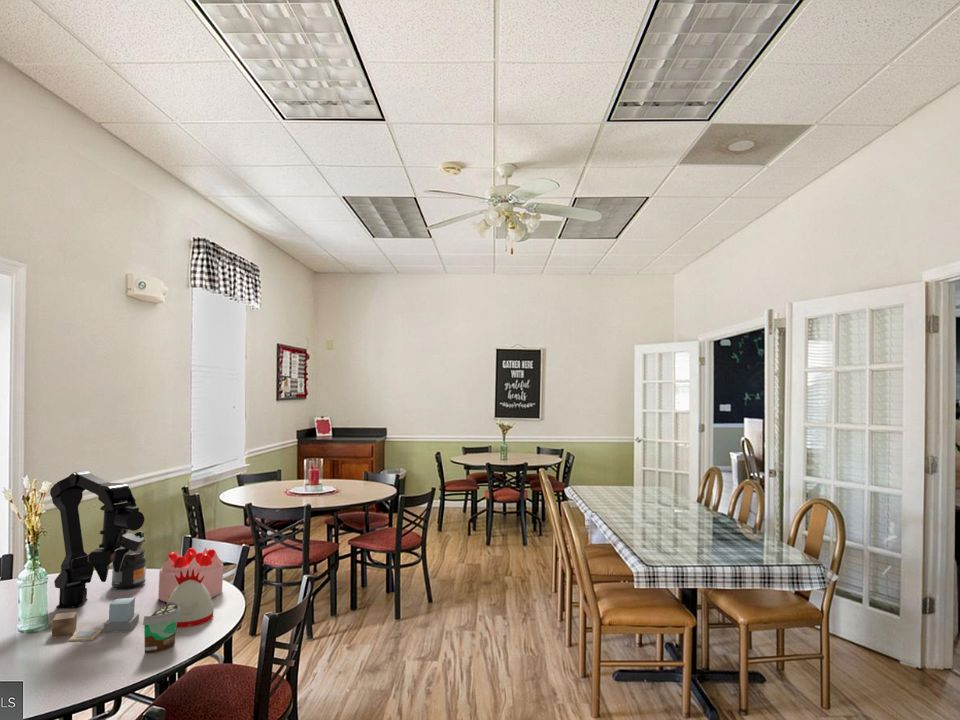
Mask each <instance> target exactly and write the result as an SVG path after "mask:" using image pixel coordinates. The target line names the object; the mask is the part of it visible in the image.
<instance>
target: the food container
mask: <svg viewBox="0 0 960 720" xmlns="http://www.w3.org/2000/svg"><path fill="white" fill-rule="evenodd" d="M180 614H181V612H180V607H179V605H178V604H177V603H175V602H166V605H164V606H163V607H161V608H159V609H157V610H155V611H154V612H153V613H152V614H151V615H144V618H143V622H142V625H143V628H144V654H155V653H160V652H163V651H166V650H169V649H171V648H172V647H174V645H175V642H176V631H177V628H176V626H177V618H178V616H179V615H180Z"/></svg>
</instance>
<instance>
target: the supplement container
mask: <svg viewBox="0 0 960 720" xmlns="http://www.w3.org/2000/svg"><path fill="white" fill-rule="evenodd" d="M145 556H146V549H145V548H142V547H141V548H140V549H138V550H137V551H131V550H130V551H128V552H127V553H126V555H125V557H124V560H123V563H122V566H121V568H120V571H119V572H115V570H114V567H113V563H111V566H112V569H111V571H112V573H111V585H110V586H111V587H112V588H113V589H114V590H120V591H121V590H122V591H127V590H133V589H136V588H140V587H142V586H143V585H144V584H145V583H146V574H147V573H146V571H147V561H148V560H147V558H146V557H145Z"/></svg>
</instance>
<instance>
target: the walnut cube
mask: <svg viewBox="0 0 960 720" xmlns="http://www.w3.org/2000/svg"><path fill="white" fill-rule="evenodd" d="M51 621H52V623H51V639H56V638H61V637H63V638H64V637H70V636H71V637H73V636H74V635H75V632H76V630H77V623H78V622H77V621H78V612H77V611H71V612H62V613H61V612H60V613H56V614H55V615H54V617H53V619H52V620H51ZM55 637H56V638H55Z"/></svg>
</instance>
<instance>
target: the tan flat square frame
mask: <svg viewBox="0 0 960 720" xmlns="http://www.w3.org/2000/svg"><path fill="white" fill-rule="evenodd" d="M102 632H103V630H102V629H97V630H96V629H93V630H92V629H91V630H79V631H77V632H76V633H74V634H73V635H72V636H71V637H70V638H69V639H68V642H82V641H83V642H84V641H85V642H86V641H87V642H88V641H93V640H95V639H96V638H97V637H98V636H99V635H101V634H102Z"/></svg>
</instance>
